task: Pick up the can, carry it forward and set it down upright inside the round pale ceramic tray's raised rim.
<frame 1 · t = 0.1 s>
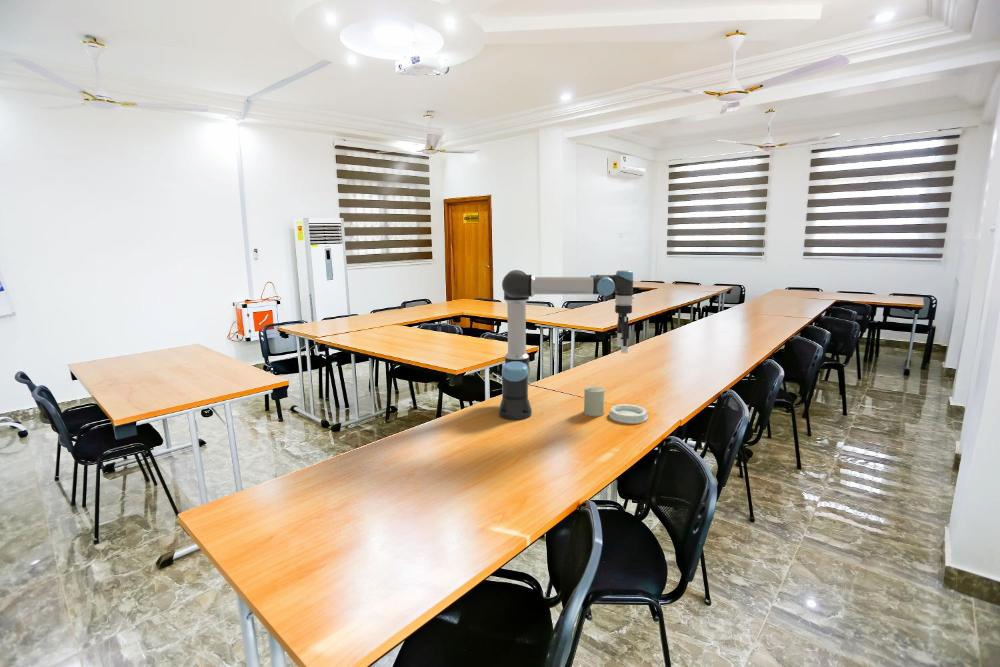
hand: (622, 349, 230), 28 cm above the table, fingers open, 13 cm apart
tray: (628, 416, 222), on the table
can: (593, 413, 228), on the table
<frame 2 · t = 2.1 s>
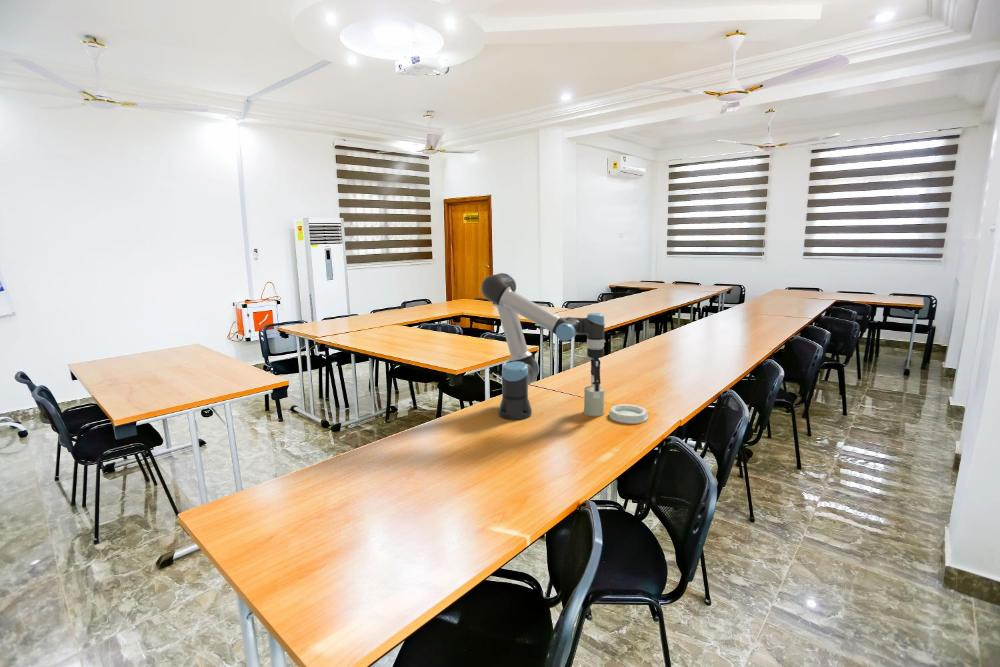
hand: (595, 393, 226), 9 cm above the table, fingers open, 13 cm apart
nothing on the table moved.
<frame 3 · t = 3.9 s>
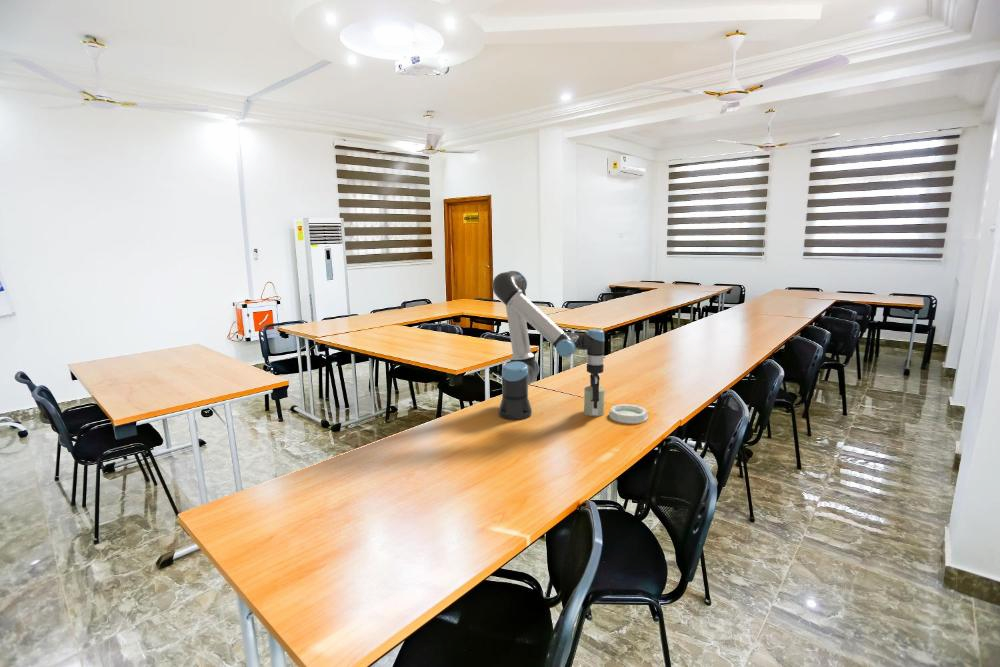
hand: (593, 410, 228), 1 cm above the table, fingers closed on can, 9 cm apart
can: (593, 413, 228), on the table, touching gripper
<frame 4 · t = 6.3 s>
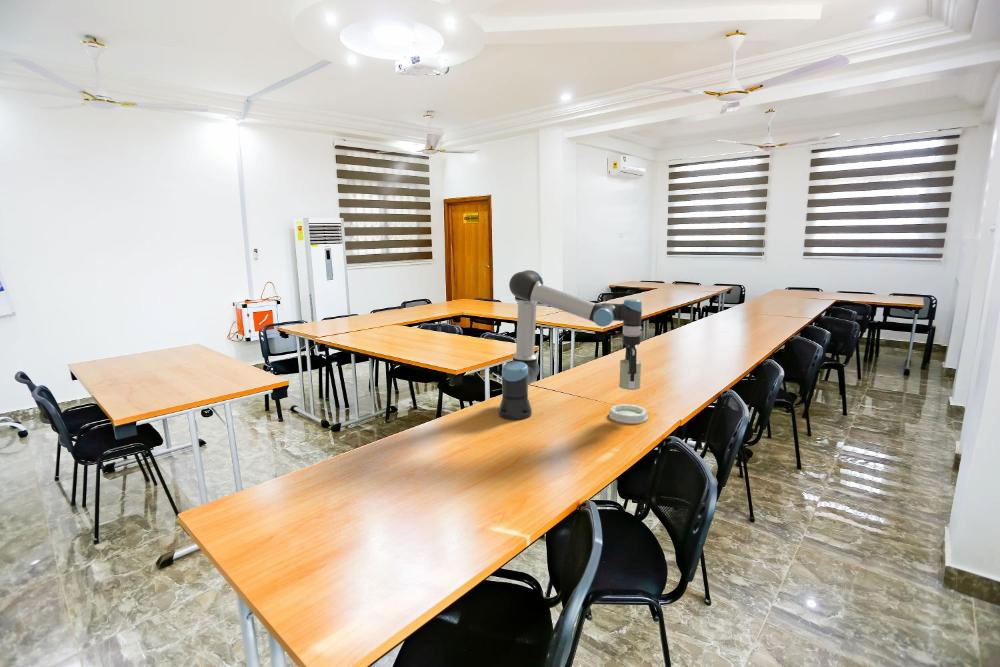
hand: (629, 384, 220), 15 cm above the table, fingers closed on can, 9 cm apart
can: (629, 387, 220), point 14 cm above the table, touching gripper
when the fingers open (4 cm above the table, at t = 9.1 s): can drops 2 cm, resting on tray.
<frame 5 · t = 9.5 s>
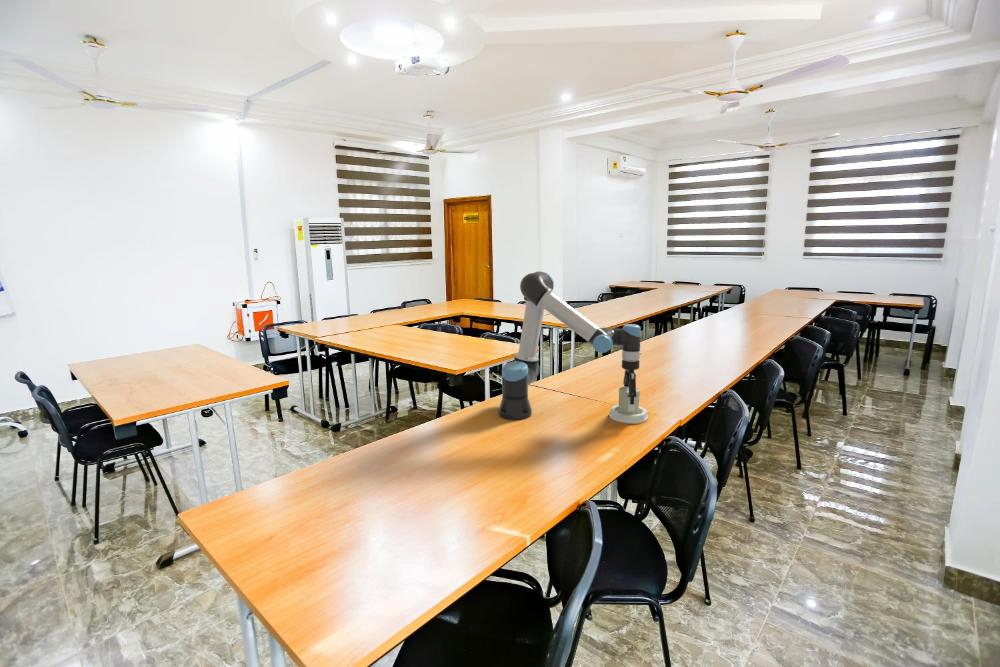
hand: (628, 405, 221), 5 cm above the table, fingers open, 13 cm apart
can: (628, 414, 222), point 1 cm above the table, touching tray
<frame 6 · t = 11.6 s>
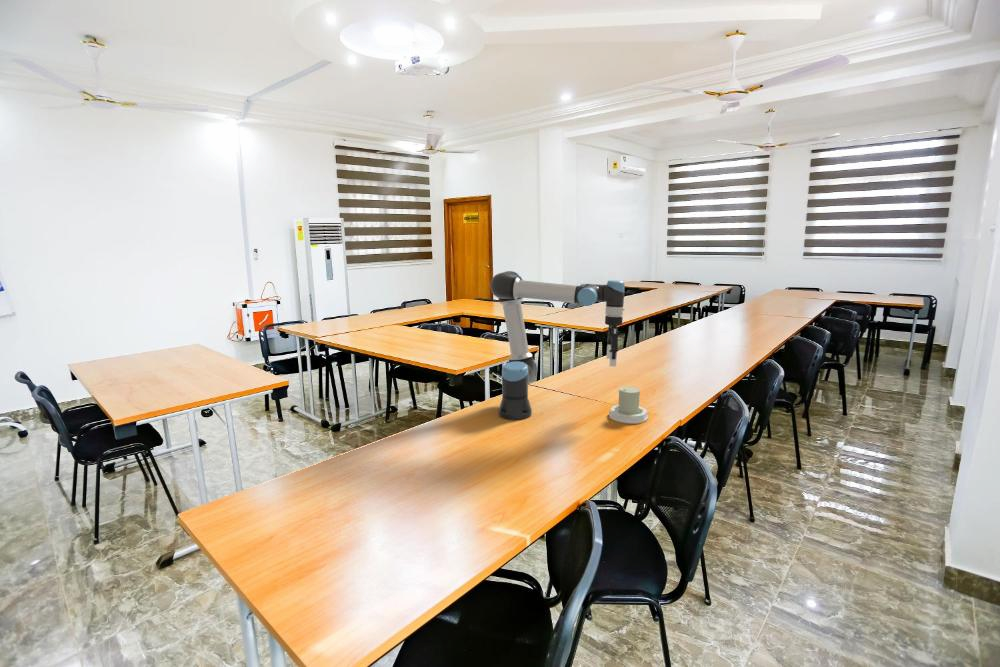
hand: (611, 362, 223), 24 cm above the table, fingers open, 13 cm apart
nothing on the table moved.
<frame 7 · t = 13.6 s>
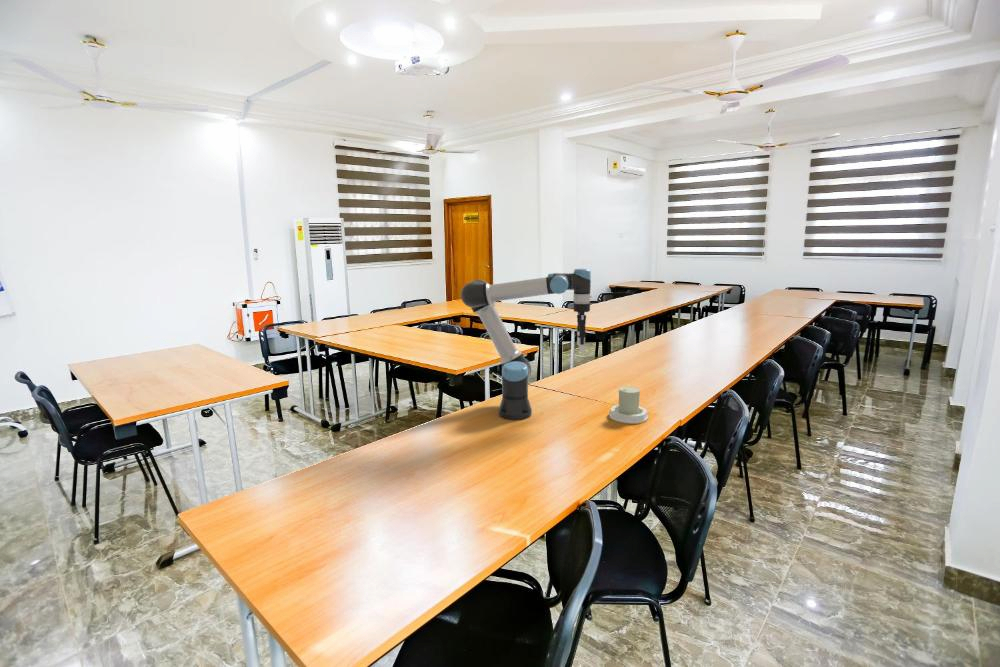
hand: (580, 348, 231), 29 cm above the table, fingers open, 13 cm apart
nothing on the table moved.
at the end: can 0.1 cm from the tray (horizontally); can tilted 0°; the gripper is holding nothing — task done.
